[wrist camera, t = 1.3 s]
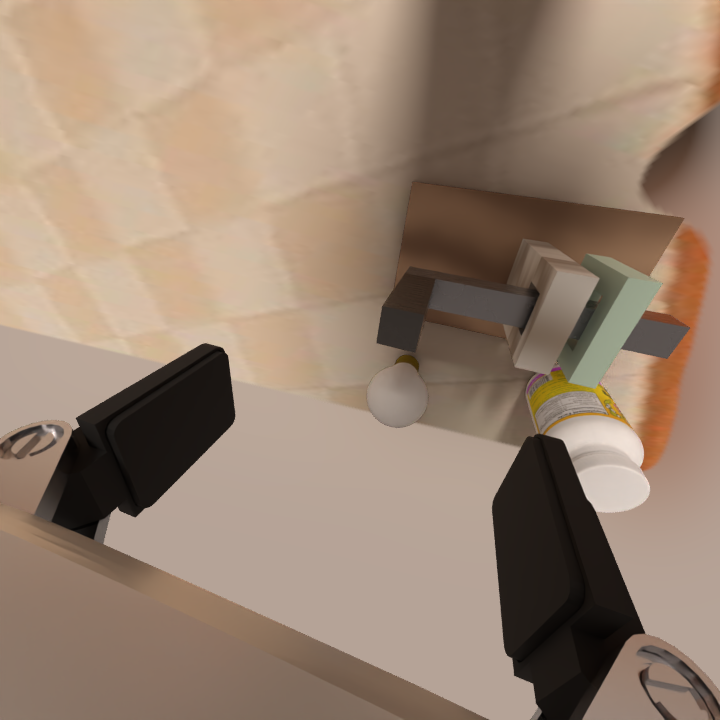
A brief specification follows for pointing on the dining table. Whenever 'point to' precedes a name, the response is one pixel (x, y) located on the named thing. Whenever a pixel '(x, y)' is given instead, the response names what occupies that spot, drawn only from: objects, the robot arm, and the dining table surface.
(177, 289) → the dining table surface
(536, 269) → the stand
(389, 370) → the light bulb
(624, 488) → the supplement bottle
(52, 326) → the dining table surface
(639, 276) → the collar
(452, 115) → the dining table surface
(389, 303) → the dark grey bent bar
